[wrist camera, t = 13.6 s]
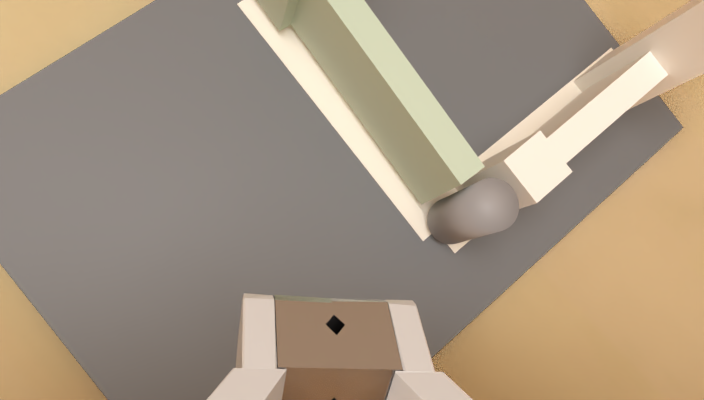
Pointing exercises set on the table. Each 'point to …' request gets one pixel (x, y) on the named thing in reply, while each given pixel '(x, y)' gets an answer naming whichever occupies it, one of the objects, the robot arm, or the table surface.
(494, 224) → the gate
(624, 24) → the table surface
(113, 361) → the board
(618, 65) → the fixed fence
